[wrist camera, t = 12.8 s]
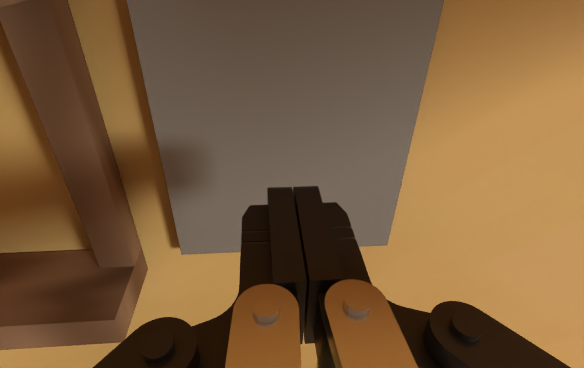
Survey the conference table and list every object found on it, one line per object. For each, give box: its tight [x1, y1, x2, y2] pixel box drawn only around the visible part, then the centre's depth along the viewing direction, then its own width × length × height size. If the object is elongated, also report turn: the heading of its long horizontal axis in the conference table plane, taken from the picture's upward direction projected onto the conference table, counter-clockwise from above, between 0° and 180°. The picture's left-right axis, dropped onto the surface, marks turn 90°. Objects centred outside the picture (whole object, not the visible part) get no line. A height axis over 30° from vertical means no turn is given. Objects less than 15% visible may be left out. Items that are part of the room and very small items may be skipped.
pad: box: [127, 0, 444, 255], centre depth 15 cm, size 10×11×1 cm
